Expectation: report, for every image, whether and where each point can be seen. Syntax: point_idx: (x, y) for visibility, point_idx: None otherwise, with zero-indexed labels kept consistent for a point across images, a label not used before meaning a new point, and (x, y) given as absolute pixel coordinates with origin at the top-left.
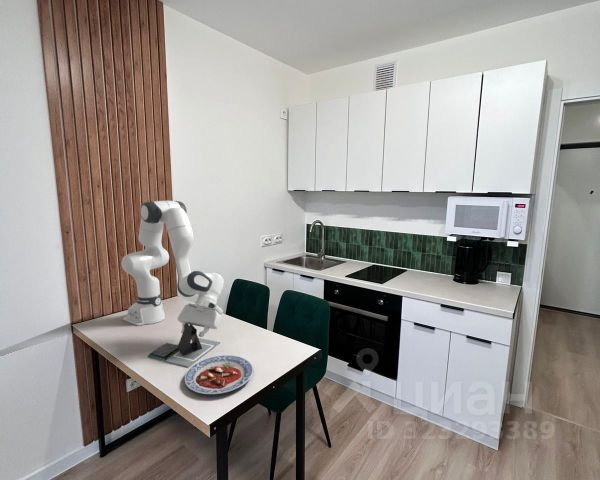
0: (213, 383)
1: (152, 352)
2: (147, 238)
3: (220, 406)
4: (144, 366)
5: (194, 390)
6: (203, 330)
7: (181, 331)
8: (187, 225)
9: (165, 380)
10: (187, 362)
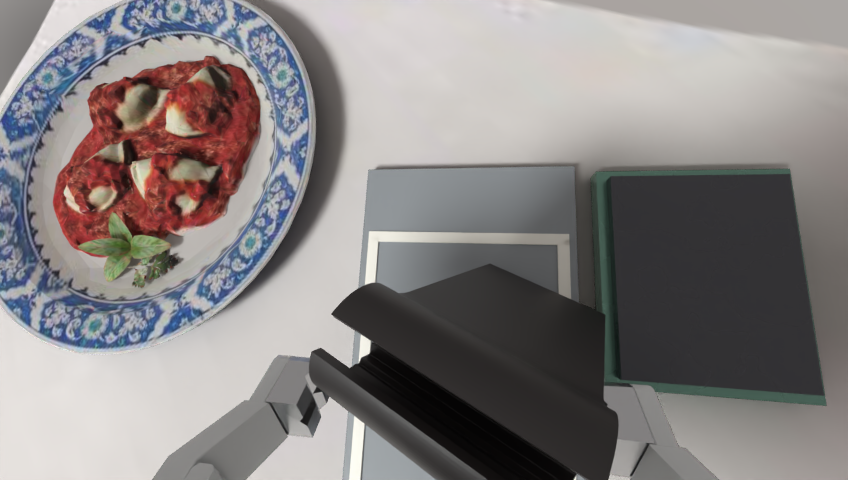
0: (140, 77)
1: (775, 191)
2: None
3: (87, 6)
4: (669, 75)
5: None
6: (229, 427)
7: (647, 390)
8: None
9: (415, 29)
10: (401, 203)
